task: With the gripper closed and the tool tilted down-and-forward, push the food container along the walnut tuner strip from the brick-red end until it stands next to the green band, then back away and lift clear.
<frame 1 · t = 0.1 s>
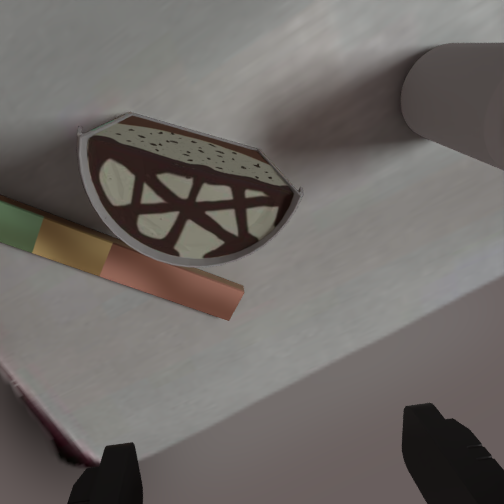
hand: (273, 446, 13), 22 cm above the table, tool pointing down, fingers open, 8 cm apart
tuner strip: (95, 249, 33), on the table
beverage can: (437, 91, 31), on the table
food container: (187, 171, 32), on the table
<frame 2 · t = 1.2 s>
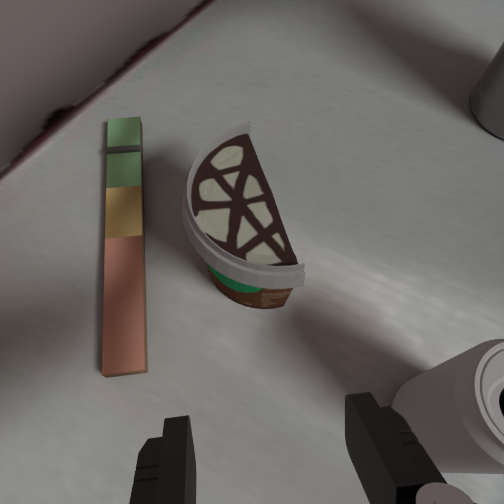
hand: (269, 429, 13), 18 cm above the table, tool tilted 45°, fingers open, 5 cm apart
tuner strip: (126, 232, 37), on the table
beverage can: (431, 422, 31), on the table
food container: (230, 265, 36), on the table
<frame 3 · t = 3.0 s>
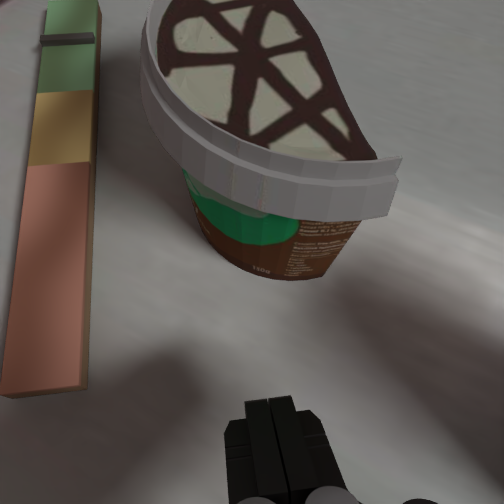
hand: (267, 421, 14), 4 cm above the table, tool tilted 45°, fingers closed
tuner strip: (67, 161, 23), on the table
food container: (233, 212, 22), on the table
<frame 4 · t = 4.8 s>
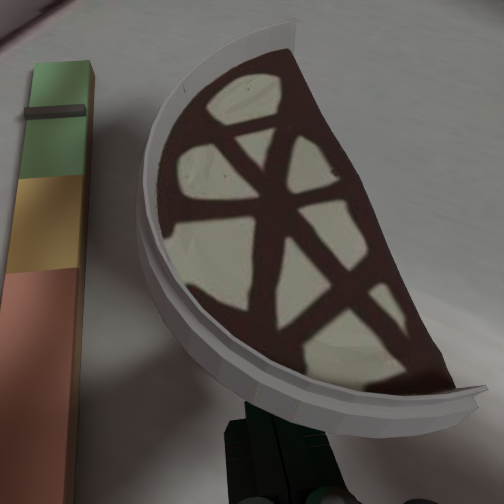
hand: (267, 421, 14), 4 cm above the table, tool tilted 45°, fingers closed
tuner strip: (52, 260, 20), on the table
food container: (244, 321, 19), on the table, touching gripper
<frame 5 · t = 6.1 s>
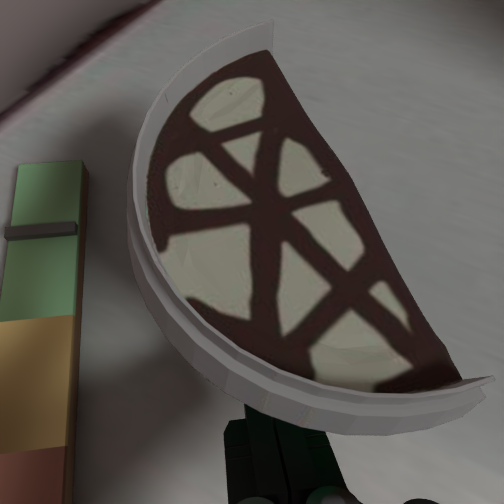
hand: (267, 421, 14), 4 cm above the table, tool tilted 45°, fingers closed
tuner strip: (37, 424, 17), on the table
food container: (240, 324, 19), on the table, touching gripper
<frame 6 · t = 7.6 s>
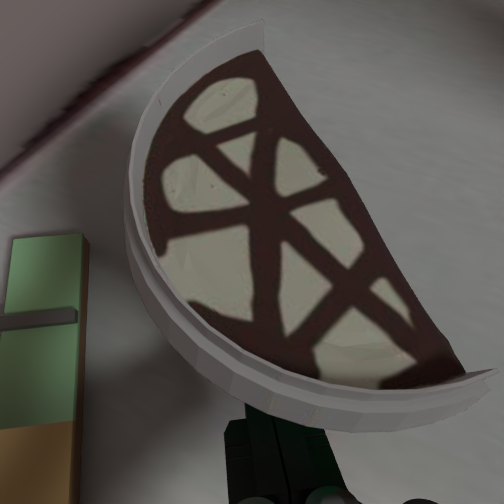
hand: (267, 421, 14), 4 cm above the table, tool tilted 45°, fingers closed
food container: (240, 325, 19), on the table, touching gripper
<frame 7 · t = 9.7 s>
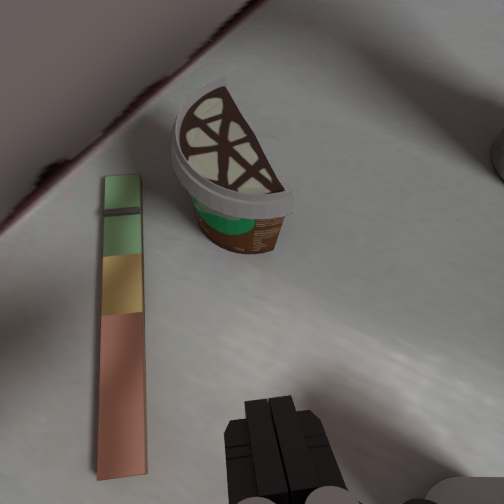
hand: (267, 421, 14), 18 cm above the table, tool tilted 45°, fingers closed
tuner strip: (125, 306, 34), on the table
food container: (219, 219, 38), on the table
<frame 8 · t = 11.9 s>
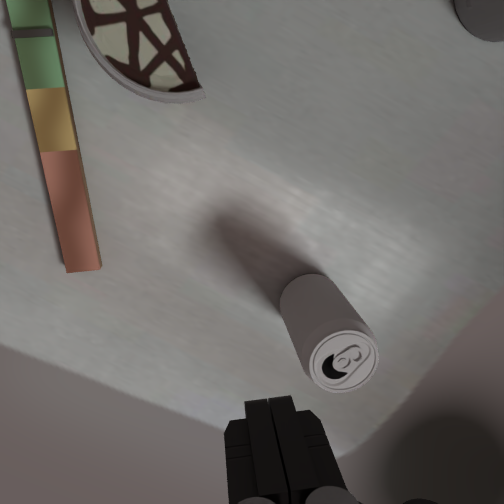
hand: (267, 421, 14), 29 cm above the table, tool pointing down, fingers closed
tuner strip: (59, 138, 37), on the table
beverage can: (307, 298, 45), on the table
food container: (142, 40, 36), on the table
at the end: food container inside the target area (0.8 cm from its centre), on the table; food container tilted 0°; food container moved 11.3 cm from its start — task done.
